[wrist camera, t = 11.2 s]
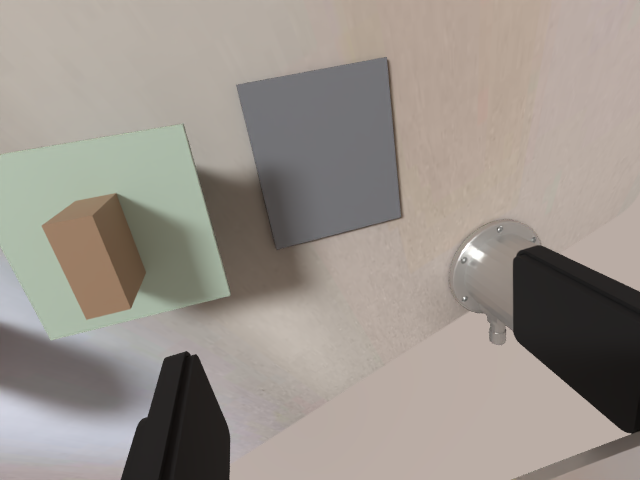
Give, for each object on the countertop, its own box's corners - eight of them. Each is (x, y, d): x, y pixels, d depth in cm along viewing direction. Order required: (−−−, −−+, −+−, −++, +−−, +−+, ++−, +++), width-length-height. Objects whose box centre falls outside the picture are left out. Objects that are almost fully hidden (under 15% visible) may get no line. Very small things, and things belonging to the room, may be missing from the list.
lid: (230, 290, 30) (232, 332, 24) (55, 334, 27) (16, 390, 22) (183, 123, 24) (173, 131, 19) (-37, 160, 22) (-116, 180, 17)
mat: (398, 215, 41) (400, 217, 41) (276, 247, 39) (276, 249, 38) (384, 57, 35) (386, 57, 34) (236, 84, 32) (236, 84, 32)
